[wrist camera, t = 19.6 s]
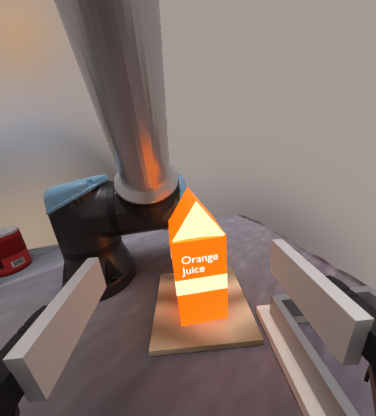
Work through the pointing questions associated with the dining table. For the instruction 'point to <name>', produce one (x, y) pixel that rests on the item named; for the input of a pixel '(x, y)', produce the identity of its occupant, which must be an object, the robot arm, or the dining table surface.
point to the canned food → (12, 251)
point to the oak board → (201, 332)
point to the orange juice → (198, 262)
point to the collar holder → (305, 357)
